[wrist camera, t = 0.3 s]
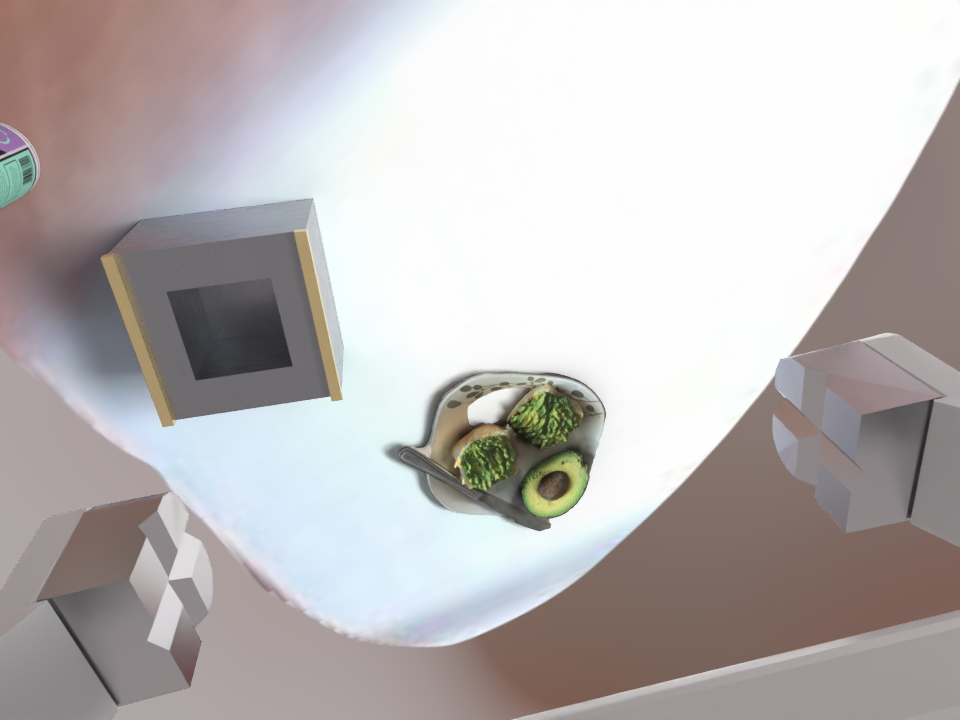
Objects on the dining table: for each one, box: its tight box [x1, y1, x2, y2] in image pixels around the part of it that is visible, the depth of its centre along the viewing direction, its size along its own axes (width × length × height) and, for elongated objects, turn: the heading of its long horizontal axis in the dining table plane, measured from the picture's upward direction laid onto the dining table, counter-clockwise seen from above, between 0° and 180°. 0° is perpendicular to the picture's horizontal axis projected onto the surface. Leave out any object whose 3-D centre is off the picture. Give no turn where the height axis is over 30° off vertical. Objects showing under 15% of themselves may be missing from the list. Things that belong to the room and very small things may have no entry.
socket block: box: [101, 198, 343, 427], centre depth 52 cm, size 13×13×9 cm
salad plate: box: [398, 372, 606, 531], centre depth 65 cm, size 19×18×5 cm
